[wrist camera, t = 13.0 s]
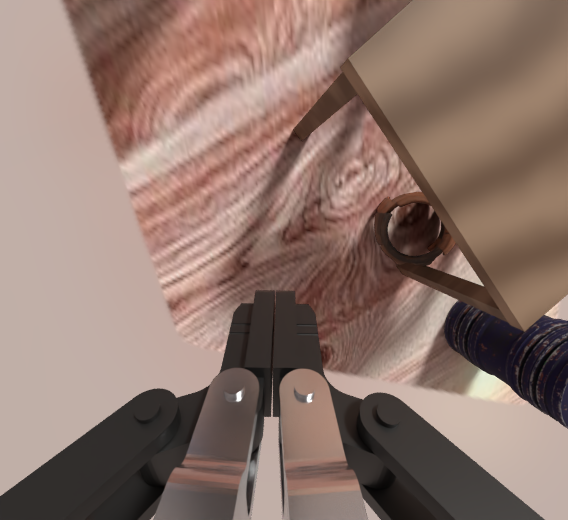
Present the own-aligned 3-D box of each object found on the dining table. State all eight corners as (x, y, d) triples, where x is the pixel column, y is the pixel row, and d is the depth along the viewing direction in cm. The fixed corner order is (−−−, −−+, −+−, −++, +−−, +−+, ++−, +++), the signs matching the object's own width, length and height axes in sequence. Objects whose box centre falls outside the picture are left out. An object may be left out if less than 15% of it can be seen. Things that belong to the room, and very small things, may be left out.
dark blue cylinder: (444, 295, 39) (567, 352, 25) (507, 285, 41) (657, 333, 26) (442, 360, 41) (553, 446, 27) (501, 348, 43) (637, 424, 28)
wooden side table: (291, 127, 31) (348, 58, 16) (387, 41, 31) (543, -118, 15) (403, 275, 37) (524, 331, 22) (484, 204, 37) (665, 208, 22)
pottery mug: (420, 271, 38) (426, 288, 31) (361, 232, 40) (353, 238, 33) (488, 193, 34) (513, 190, 27) (418, 153, 36) (423, 139, 28)
